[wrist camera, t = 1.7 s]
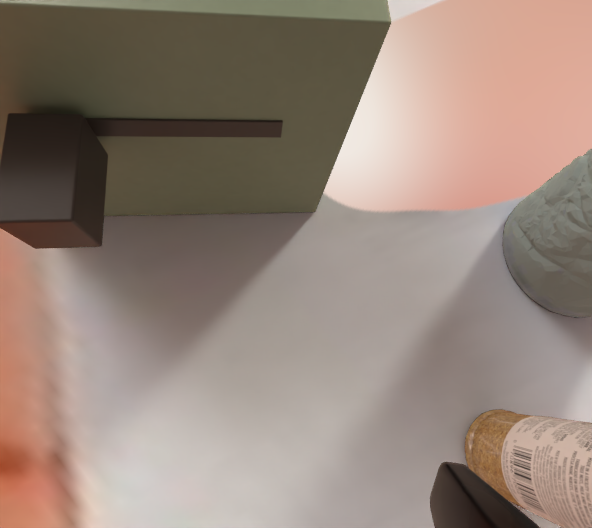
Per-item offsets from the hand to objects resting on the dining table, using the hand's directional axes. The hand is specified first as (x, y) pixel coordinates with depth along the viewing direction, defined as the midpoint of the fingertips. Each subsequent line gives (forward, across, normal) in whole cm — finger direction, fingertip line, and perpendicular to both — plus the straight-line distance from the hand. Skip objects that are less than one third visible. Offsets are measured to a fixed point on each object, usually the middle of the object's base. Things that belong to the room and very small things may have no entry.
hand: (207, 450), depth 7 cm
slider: (+9, +7, -3) cm, 12 cm away
